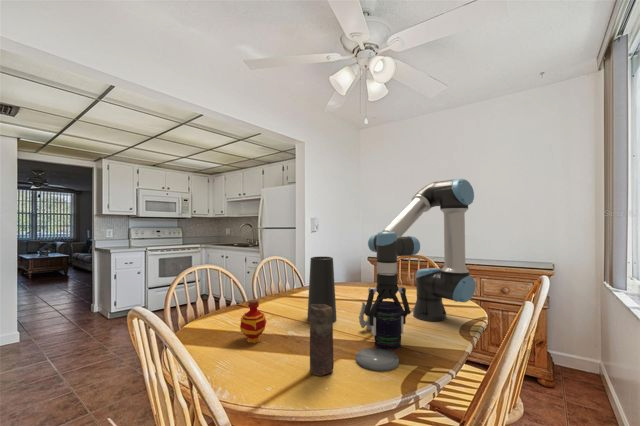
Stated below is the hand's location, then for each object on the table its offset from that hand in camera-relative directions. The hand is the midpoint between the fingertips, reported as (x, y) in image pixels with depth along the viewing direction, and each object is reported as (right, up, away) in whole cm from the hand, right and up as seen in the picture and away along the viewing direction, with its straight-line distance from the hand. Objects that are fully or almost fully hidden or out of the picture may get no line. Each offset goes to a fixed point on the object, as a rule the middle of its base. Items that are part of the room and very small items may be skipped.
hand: (387, 333), depth 114 cm
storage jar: (0, -4, 0) cm, 4 cm away
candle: (-25, -4, -20) cm, 32 cm away
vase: (-24, -5, +30) cm, 39 cm away
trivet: (-6, -4, -13) cm, 15 cm away
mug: (-3, -5, +17) cm, 18 cm away
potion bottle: (-51, -5, +5) cm, 52 cm away
